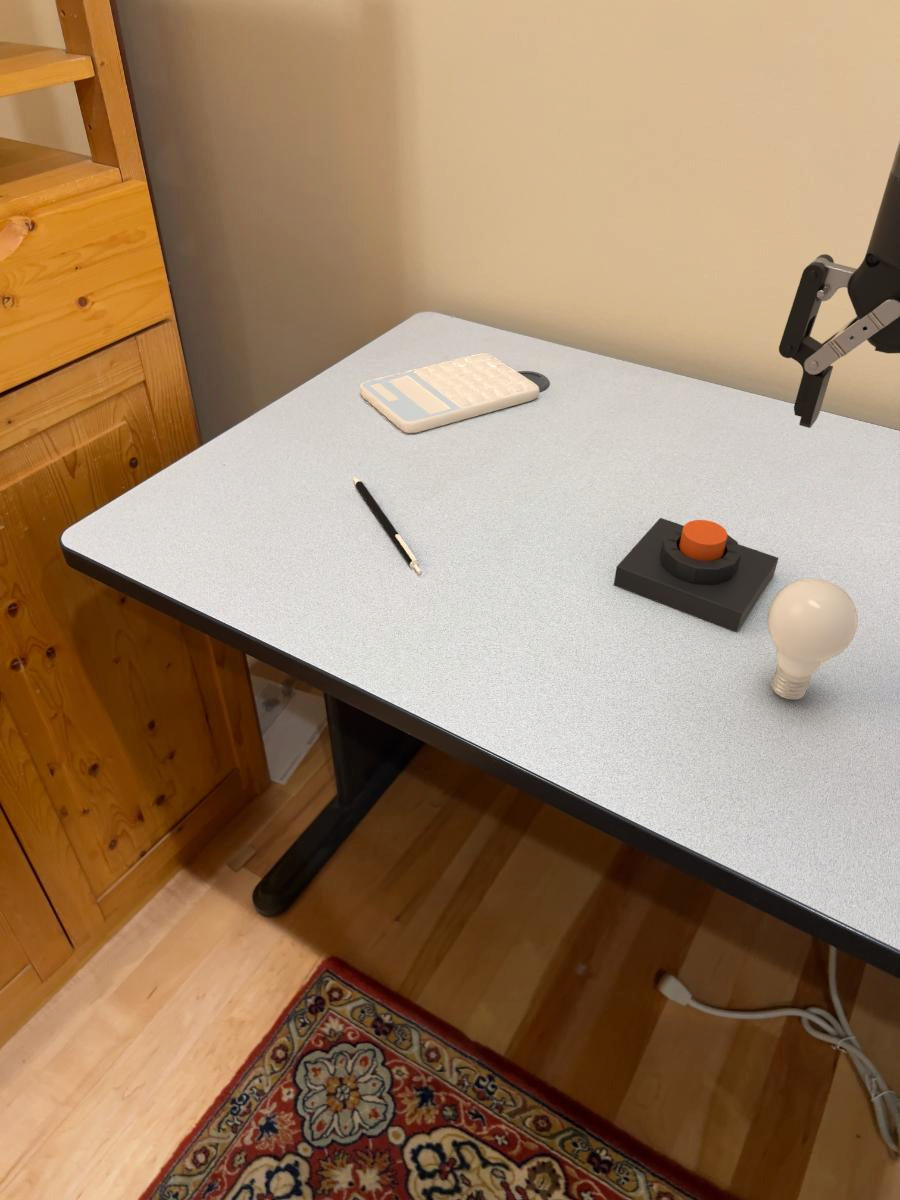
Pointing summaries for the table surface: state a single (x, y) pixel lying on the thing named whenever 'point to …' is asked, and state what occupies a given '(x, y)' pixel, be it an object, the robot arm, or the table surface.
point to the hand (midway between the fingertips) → (874, 440)
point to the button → (703, 540)
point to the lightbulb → (808, 631)
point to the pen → (388, 526)
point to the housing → (696, 576)
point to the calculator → (448, 392)
